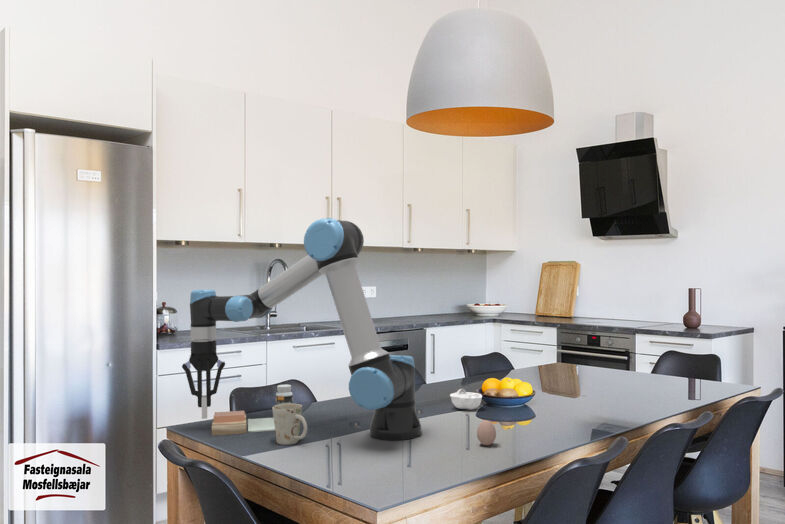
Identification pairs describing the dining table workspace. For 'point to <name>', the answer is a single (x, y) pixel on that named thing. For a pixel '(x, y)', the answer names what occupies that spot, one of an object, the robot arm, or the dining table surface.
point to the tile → (229, 416)
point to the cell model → (466, 399)
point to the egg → (486, 433)
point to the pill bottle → (284, 394)
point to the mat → (261, 425)
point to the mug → (288, 423)
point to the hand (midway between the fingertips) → (204, 417)
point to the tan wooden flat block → (229, 428)
